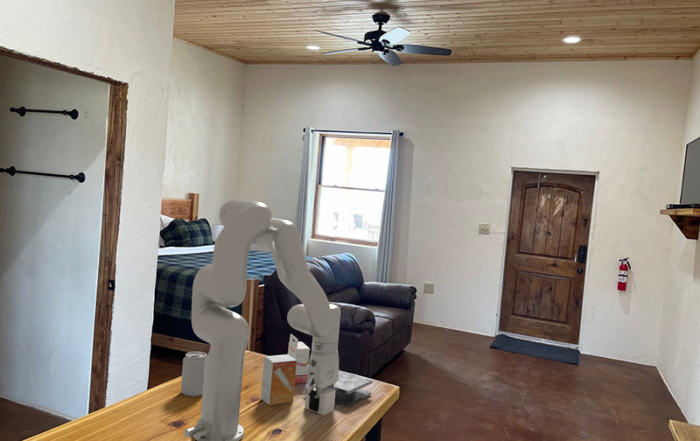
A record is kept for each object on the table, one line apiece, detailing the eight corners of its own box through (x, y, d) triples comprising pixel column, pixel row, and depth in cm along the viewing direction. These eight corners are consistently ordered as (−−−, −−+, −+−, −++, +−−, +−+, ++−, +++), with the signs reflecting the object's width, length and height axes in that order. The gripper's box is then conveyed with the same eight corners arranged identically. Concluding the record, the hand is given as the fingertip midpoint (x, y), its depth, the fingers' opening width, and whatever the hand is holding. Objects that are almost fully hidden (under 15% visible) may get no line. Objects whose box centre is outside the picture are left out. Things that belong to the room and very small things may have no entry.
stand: (346, 407, 164) (348, 391, 164) (304, 393, 173) (306, 377, 173) (370, 395, 176) (372, 380, 175) (330, 382, 184) (331, 368, 184)
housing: (323, 415, 157) (325, 394, 157) (304, 408, 161) (306, 388, 160) (333, 410, 161) (335, 390, 161) (314, 403, 165) (316, 384, 165)
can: (175, 395, 162) (178, 355, 161) (188, 387, 169) (191, 348, 169) (198, 399, 160) (201, 359, 160) (210, 391, 167) (213, 352, 167)
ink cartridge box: (307, 383, 182) (311, 339, 181) (293, 384, 180) (297, 340, 179) (299, 374, 190) (302, 332, 189) (285, 375, 188) (289, 333, 187)
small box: (269, 406, 160) (272, 362, 159) (260, 398, 165) (263, 356, 165) (293, 402, 164) (297, 359, 164) (284, 395, 170) (287, 353, 169)
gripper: (317, 355, 151) (311, 419, 152) (351, 344, 165) (346, 403, 166) (296, 349, 155) (291, 411, 156) (331, 338, 169) (326, 396, 170)
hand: (319, 406), depth 161 cm, fingers closed on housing, 5 cm apart
